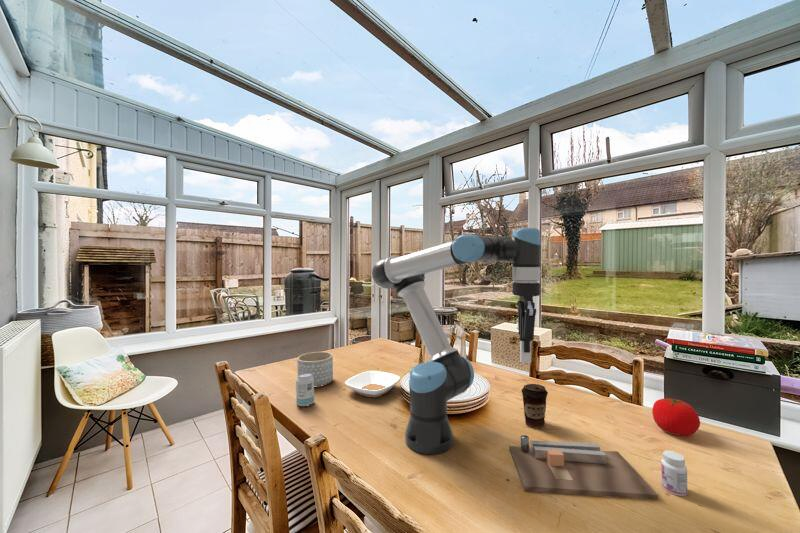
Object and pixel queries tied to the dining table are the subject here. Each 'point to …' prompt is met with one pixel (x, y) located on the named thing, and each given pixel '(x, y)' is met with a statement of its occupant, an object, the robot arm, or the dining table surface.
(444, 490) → the dining table surface
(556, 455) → the block
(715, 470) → the dining table surface
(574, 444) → the bar
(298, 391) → the beverage can
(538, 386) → the coffee cup
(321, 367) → the planter
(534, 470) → the board
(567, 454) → the bar
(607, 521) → the dining table surface
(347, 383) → the bowl
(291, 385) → the dining table surface
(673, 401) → the tomato
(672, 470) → the pill bottle
